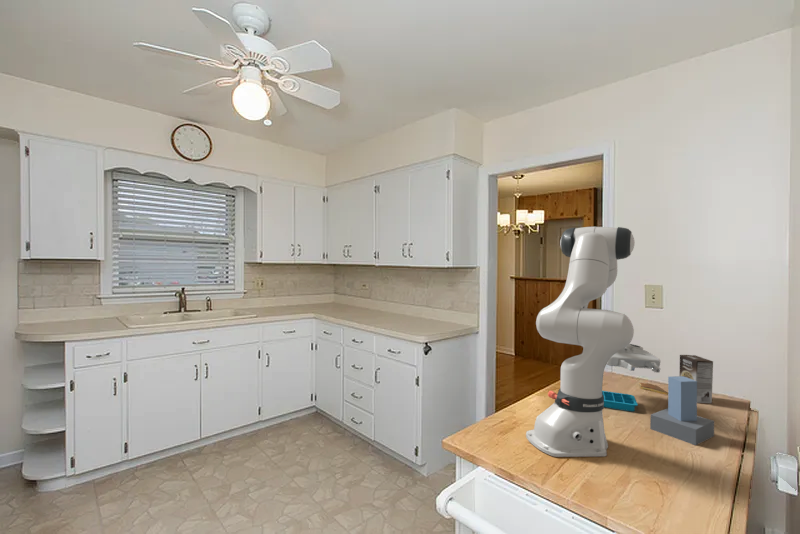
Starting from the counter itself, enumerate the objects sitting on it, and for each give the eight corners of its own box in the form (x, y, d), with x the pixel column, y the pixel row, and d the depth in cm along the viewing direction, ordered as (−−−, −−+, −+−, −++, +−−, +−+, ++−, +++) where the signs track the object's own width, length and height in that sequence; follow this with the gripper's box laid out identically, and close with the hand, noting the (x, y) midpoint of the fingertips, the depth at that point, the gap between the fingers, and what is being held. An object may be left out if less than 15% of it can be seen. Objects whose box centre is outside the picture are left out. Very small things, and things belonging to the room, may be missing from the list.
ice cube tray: (574, 394, 148) (574, 386, 148) (633, 402, 139) (633, 395, 139) (574, 404, 138) (574, 396, 138) (638, 414, 129) (638, 405, 129)
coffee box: (678, 394, 148) (678, 354, 148) (694, 394, 148) (695, 354, 147) (695, 403, 139) (696, 360, 139) (713, 403, 139) (713, 360, 138)
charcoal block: (695, 446, 106) (695, 429, 106) (650, 430, 116) (650, 414, 116) (713, 437, 112) (714, 420, 112) (669, 422, 122) (669, 407, 122)
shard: (669, 396, 147) (669, 392, 147) (647, 395, 148) (647, 390, 148) (655, 387, 157) (655, 383, 157) (635, 386, 159) (635, 382, 159)
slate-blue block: (680, 421, 112) (681, 381, 112) (668, 414, 117) (668, 376, 117) (696, 420, 112) (696, 381, 112) (683, 413, 117) (683, 376, 117)
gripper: (594, 342, 137) (619, 359, 124) (644, 346, 140) (674, 363, 126) (590, 358, 138) (615, 376, 125) (640, 361, 141) (669, 379, 127)
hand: (645, 369), depth 126 cm, fingers open, 8 cm apart
